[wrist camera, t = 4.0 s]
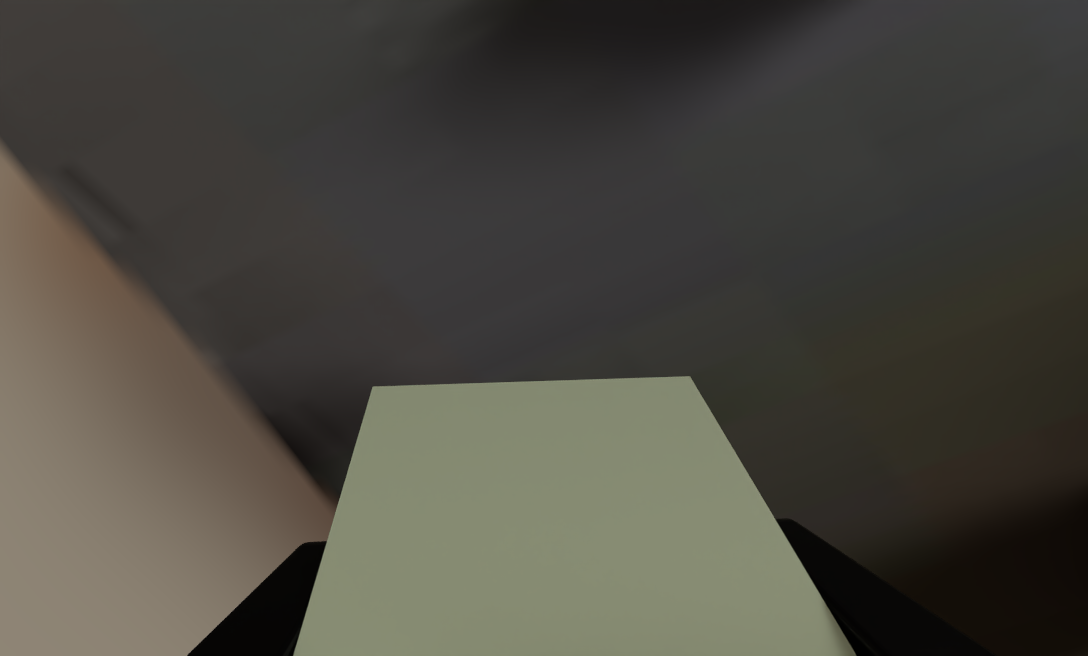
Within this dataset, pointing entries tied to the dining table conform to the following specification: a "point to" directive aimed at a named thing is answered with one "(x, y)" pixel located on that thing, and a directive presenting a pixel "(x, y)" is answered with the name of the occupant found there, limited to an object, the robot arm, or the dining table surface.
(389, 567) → the tile
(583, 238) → the dining table surface
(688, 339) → the dining table surface
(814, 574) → the robot arm
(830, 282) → the dining table surface
